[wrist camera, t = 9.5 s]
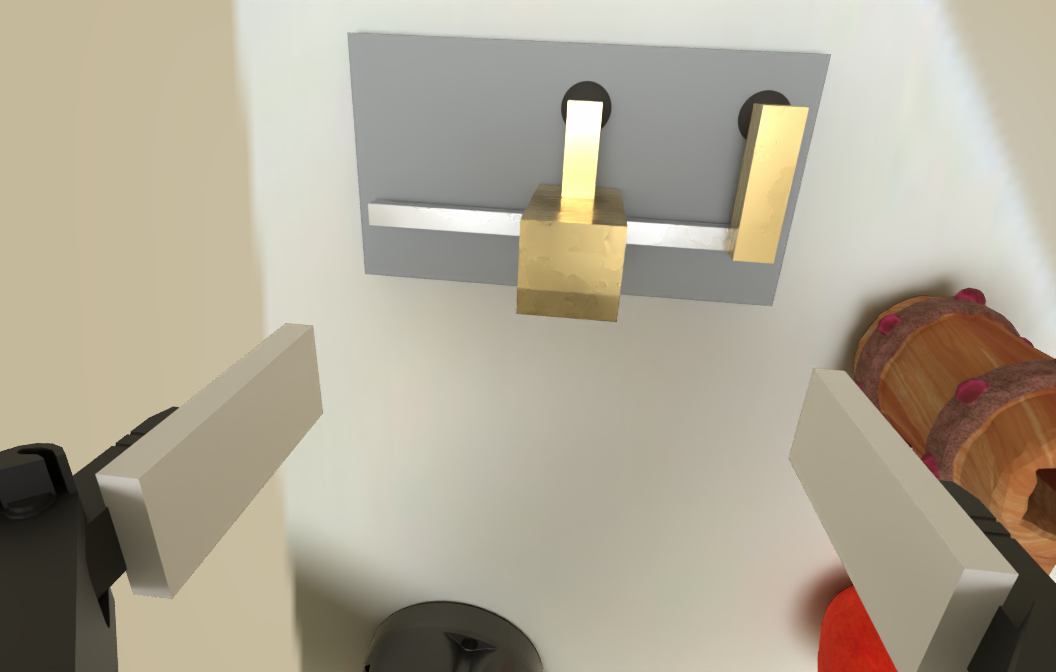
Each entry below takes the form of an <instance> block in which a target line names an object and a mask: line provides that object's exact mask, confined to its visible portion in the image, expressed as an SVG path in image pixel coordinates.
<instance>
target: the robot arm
mask: <svg viewBox="0 0 1056 672" xmlns="http://www.w3.org/2000/svg"><path fill="white" fill-rule="evenodd" d="M322 414H323V409H322V400H321V392H320V383H319V374H318V365H317V356H316V348H315V339H314V330H313V325H301V324H289V323H285V324H284V325H283V326H282V327H280V328H279V329H278V330H277V331H275V332H274V333H273V334H272V335H270V336H269V337H268V338H266V339H265V340H264V341H263V342H261V343H260V344H259V345H258V346H256V347H255V348H254V349H253V350H251V351H250V352H249V353H248V354H247V355H245V356H244V357H243V358H241V359H240V360H239V361H237V362H236V363H235V364H234V365H233V366H231V367H230V368H229V369H228V370H226V371H225V372H224V373H222V374H221V375H220V376H219V377H217V378H216V379H215V380H214V381H212V382H211V383H210V384H209V385H207V386H206V387H205V388H204V389H202V390H201V391H200V392H198V393H197V394H196V395H195V396H193V397H192V398H191V399H190V400H188V401H187V402H186V403H185V404H183V405H182V406H181V407H171V408H169V409H167V410H165V411H163V412H161V413H159V414H156V415H154V416H152V417H150V418H148V419H147V420H146V421H144V422H143V423H142V424H140V425H139V426H138V427H136V428H135V429H134V430H132V431H131V434H130V435H126V436H124V437H123V438H122V439H121V440H119V441H118V442H117V443H116V446H111V447H110V448H109V449H108V450H106V451H105V452H104V453H102V454H101V455H99V456H98V457H97V458H96V459H94V460H93V461H92V462H91V463H89V464H88V465H86V466H85V467H84V468H83V469H81V470H80V471H78V472H77V473H76V474H75V475H72V472H71V469H70V466H69V463H68V460H67V457H66V454H65V452H64V450H63V448H62V447H60V446H57V445H55V444H50V443H35V444H28V445H22V446H17V447H14V448H11V449H7V450H4V451H1V452H0V672H118V658H117V638H116V619H115V601H114V598H113V595H112V592H111V589H110V587H111V586H112V584H113V583H114V582H115V581H116V580H117V579H118V578H119V577H120V576H121V575H122V574H123V573H124V572H125V571H126V573H127V576H128V579H129V582H130V585H131V589H132V592H133V594H135V595H143V596H151V597H159V598H167V599H173V597H174V596H175V595H176V594H177V592H178V591H179V590H180V589H181V587H182V586H183V585H184V584H185V583H186V581H187V580H188V579H189V578H190V576H191V575H192V574H193V573H194V571H195V570H196V569H197V568H198V566H199V565H200V564H201V563H202V561H203V560H204V559H205V557H207V555H208V554H209V553H210V552H211V550H212V549H213V548H214V547H215V546H216V544H217V543H218V542H219V541H220V539H221V538H222V537H223V535H224V534H225V533H226V532H227V530H228V529H229V528H230V527H231V526H232V525H233V523H234V522H235V521H236V520H237V518H238V517H239V516H240V515H241V513H242V512H243V511H244V510H245V508H246V507H247V506H248V505H249V503H250V502H251V501H252V500H253V499H254V497H255V496H256V495H257V494H258V492H259V491H260V490H261V489H262V488H263V486H264V485H265V484H266V483H267V481H268V480H269V479H270V478H271V476H272V475H273V474H274V473H275V472H276V470H277V469H278V468H279V467H280V465H281V464H282V463H283V462H284V460H285V459H286V458H287V457H288V456H289V454H290V453H291V452H292V451H293V449H294V448H295V447H296V446H297V444H298V443H299V442H300V441H301V439H302V438H303V437H304V436H305V435H306V433H307V432H308V431H309V430H310V428H311V427H312V426H313V425H314V423H315V422H316V421H317V420H318V419H319V417H320V416H321V415H322ZM789 460H790V462H791V464H792V466H793V468H794V470H795V472H796V474H797V476H798V478H799V480H800V482H801V483H802V485H803V487H804V489H805V491H806V493H807V495H808V497H809V499H810V501H811V503H812V505H813V507H814V509H815V511H816V513H817V515H818V517H819V519H820V521H821V523H822V525H823V527H824V528H825V530H826V532H827V534H828V536H829V538H830V540H831V542H832V544H833V546H834V548H835V550H836V552H837V554H838V556H839V558H840V560H841V562H842V564H843V566H844V568H845V570H846V572H847V573H848V575H849V577H850V579H851V581H852V583H853V585H854V587H855V589H856V591H857V593H858V595H859V597H860V599H861V601H862V603H863V605H864V607H865V609H866V611H867V613H868V615H869V617H870V618H871V620H872V622H873V624H874V626H875V628H876V630H877V632H878V634H879V636H880V638H881V640H882V642H883V644H884V646H885V648H886V650H887V652H888V654H889V656H890V658H891V660H892V662H893V664H894V665H895V667H896V669H897V671H898V672H1056V583H1055V582H1054V581H1053V580H1052V579H1051V578H1050V577H1049V575H1048V574H1047V573H1046V572H1045V571H1044V570H1043V569H1042V568H1041V567H1040V566H1039V564H1038V563H1037V562H1036V561H1035V560H1034V559H1033V558H1032V557H1031V556H1030V555H1029V554H1028V552H1027V551H1026V550H1025V549H1024V548H1023V547H1022V546H1021V545H1020V544H1019V543H1018V541H1017V540H1016V539H1015V538H1011V534H1010V533H1009V532H1008V531H1007V529H1006V528H1005V527H1004V526H1003V525H1002V524H1001V523H1000V522H997V521H996V517H995V516H994V515H993V514H992V513H991V512H990V511H989V510H988V509H987V508H986V506H985V505H984V504H983V503H982V502H981V501H980V500H979V499H978V498H976V497H975V496H974V495H972V494H971V493H969V492H968V491H966V490H965V489H963V488H962V487H960V486H959V485H957V484H956V483H955V482H953V481H944V480H938V479H937V478H936V477H935V476H934V475H933V474H932V472H931V471H930V470H929V469H928V468H927V467H926V465H925V464H924V463H923V462H922V461H921V460H920V458H919V457H918V456H917V455H916V454H915V453H914V451H913V450H912V449H911V448H910V447H909V446H908V444H907V443H906V442H905V441H904V440H903V439H902V437H901V436H900V435H899V434H898V433H897V431H896V430H895V429H894V428H893V427H892V426H891V424H890V423H889V422H888V421H887V420H886V419H885V417H884V416H883V415H882V414H881V413H880V412H879V410H878V409H877V408H876V407H875V406H874V405H873V403H872V402H871V401H870V400H869V399H868V398H867V396H866V395H865V394H864V393H863V392H862V391H861V389H860V388H859V387H858V386H857V385H856V384H855V382H854V381H853V380H852V379H851V378H850V377H849V375H848V374H847V373H846V372H845V371H840V370H828V369H817V368H813V371H812V375H811V379H810V382H809V386H808V390H807V393H806V397H805V400H804V404H803V408H802V411H801V415H800V419H799V422H798V426H797V429H796V433H795V437H794V440H793V444H792V448H791V451H790V455H789ZM363 672H542V665H541V661H540V658H539V656H538V654H537V652H536V650H535V648H534V647H533V645H532V644H531V643H530V641H529V640H528V639H527V638H526V637H525V636H524V635H523V634H522V633H521V632H520V631H519V630H518V629H516V628H515V627H514V626H512V625H511V624H510V623H508V622H507V621H505V620H503V619H501V618H500V617H498V616H496V615H493V614H491V613H489V612H486V611H484V610H481V609H478V608H474V607H471V606H466V605H461V604H454V603H426V604H420V605H415V606H412V607H408V608H405V609H403V610H401V611H399V612H397V613H395V614H393V615H392V616H390V617H389V618H387V619H386V620H385V621H384V622H383V623H382V624H381V625H380V626H379V628H378V629H377V631H376V633H375V635H374V637H373V640H372V642H371V645H370V647H369V650H368V652H367V655H366V657H365V661H364V665H363Z"/></svg>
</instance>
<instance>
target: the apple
mask: <svg viewBox="0 0 1056 672" xmlns="http://www.w3.org/2000/svg"><path fill="white" fill-rule="evenodd" d="M818 672H898V671H897V669H896V667H895V665H894V664H893V662H892V660H891V658H890V656H889V654H888V652H887V650H886V648H885V646H884V644H883V642H882V640H881V638H880V636H879V634H878V632H877V630H876V628H875V626H874V624H873V622H872V620H871V618H870V617H869V615H868V613H867V611H866V609H865V607H864V605H863V603H862V601H861V599H860V597H859V595H858V593H857V591H856V589H855V587H854V586H851V587H848V588H847V589H845V590H843V591H842V592H840V593H838V594H837V595H836V596H835V598H834V599H833V600H832V601H831V602H830V604H829V606H828V607H827V610H826V613H825V615H824V618H823V621H822V624H821V634H820V643H819V651H818Z"/></svg>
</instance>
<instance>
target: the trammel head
mask: <svg viewBox="0 0 1056 672" xmlns="http://www.w3.org/2000/svg"><path fill="white" fill-rule="evenodd" d="M602 105H603V101H591V100H589V99H583V100H568V108H567V123H566V138H565V152H564V167H563V182H562V185H547V184H539V185H538V187H537V189H536V191H535V192H534V194H533V196H532V198H531V200H530V202H529V204H528V206H527V208H526V209H525V211H524V213H523V215H522V217H521V219H520V239H519V264H518V289H517V314H527V315H539V316H551V317H563V318H575V319H587V320H599V321H611V322H617V315H618V307H619V298H620V290H621V281H622V273H623V264H624V256H625V247H626V238H627V230H628V225H627V220H626V215H625V210H624V205H623V200H622V195H621V190H620V189H609V188H595V182H596V171H597V160H598V149H599V138H600V127H601V116H602Z"/></svg>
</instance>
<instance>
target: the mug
mask: <svg viewBox="0 0 1056 672" xmlns="http://www.w3.org/2000/svg"><path fill="white" fill-rule="evenodd" d="M985 302H986V300H985V297H984V294H983V293H982V292H981V291H980V290H977V289H972V288H967V289H963V290H961V291H960V292H958V294H957V295H956V296H955V297H950V296H939V297H930V296H918V297H914V298H910V299H908V300H905V301H903V302H900V303H898V304H896V305H894V306H892V307H891V308H890V309H889V310H887V311H884V312H883V313H881V314H880V315H879V317H878V318H877V319H876V320H875V321H874V323H873V324H872V325H871V326H870V327H869V329H868V330H867V331H866V333H865V334H864V335H863V337H862V338H861V339H860V341H859V345H858V349H857V352H856V355H855V361H854V373H855V384H856V385H857V386H858V387H859V388H860V389H861V391H862V392H863V393H864V394H865V395H866V396H867V398H868V399H869V400H870V401H871V402H872V403H873V405H874V406H875V407H876V408H877V409H878V410H879V412H880V413H881V414H882V415H883V416H884V417H885V419H886V420H887V421H888V422H889V423H890V424H891V426H892V427H893V428H894V429H895V430H896V431H897V433H898V434H899V435H900V436H901V437H902V439H903V440H904V441H905V442H906V443H907V444H908V446H909V447H910V448H912V449H913V451H914V453H915V454H916V455H917V456H918V457H919V458H920V460H921V461H922V462H923V463H924V464H925V465H926V467H927V468H928V469H929V470H930V471H931V472H932V474H933V475H934V476H935V477H936V478H937V479H938V480H944V481H953V482H955V483H956V484H957V485H959V486H960V487H962V488H963V489H965V490H966V491H968V492H969V493H971V494H972V495H974V496H975V497H976V498H978V499H979V500H980V501H981V502H982V503H983V504H984V505H985V506H986V508H987V509H988V510H989V511H990V512H991V513H992V514H993V515H994V516H995V517H996V521H997V522H1000V523H1001V524H1002V525H1003V526H1004V527H1005V528H1006V529H1007V531H1008V532H1009V533H1010V534H1011V538H1015V539H1016V540H1017V541H1018V543H1019V544H1020V545H1021V546H1022V547H1023V548H1024V549H1025V550H1026V551H1027V552H1028V554H1029V555H1030V556H1031V557H1032V558H1033V559H1034V560H1035V561H1036V562H1037V563H1038V564H1039V566H1040V567H1041V568H1042V569H1043V570H1044V571H1045V572H1046V573H1047V574H1048V575H1049V574H1050V573H1051V571H1052V569H1053V568H1054V566H1055V565H1056V359H1054V358H1052V357H1050V356H1049V355H1047V354H1045V353H1043V352H1041V351H1039V350H1038V349H1036V348H1034V346H1033V344H1032V343H1031V342H1030V341H1028V340H1027V339H1026V338H1023V337H1020V335H1019V333H1018V332H1017V330H1016V329H1015V327H1014V326H1013V324H1012V323H1011V322H1010V321H1008V320H1007V319H1006V318H1005V317H1004V316H1003V315H1001V314H999V313H998V312H996V311H994V310H992V309H990V308H988V307H987V306H985Z"/></svg>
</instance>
